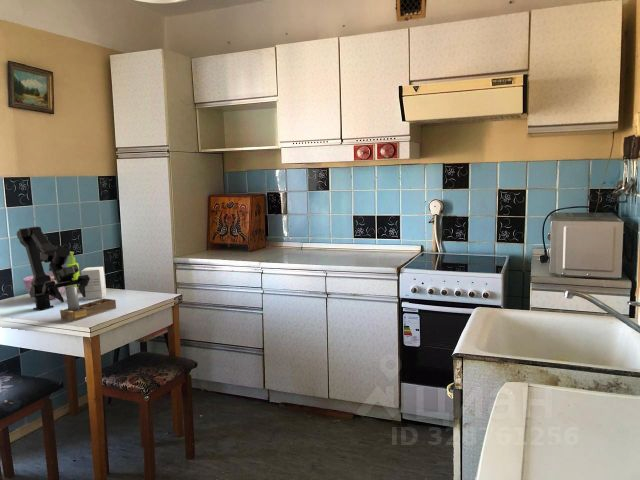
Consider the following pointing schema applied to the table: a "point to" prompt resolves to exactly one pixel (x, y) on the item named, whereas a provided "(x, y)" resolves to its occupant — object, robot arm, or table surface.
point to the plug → (72, 298)
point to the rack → (88, 309)
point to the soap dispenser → (73, 262)
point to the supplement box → (95, 283)
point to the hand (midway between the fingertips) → (74, 299)
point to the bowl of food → (28, 284)
